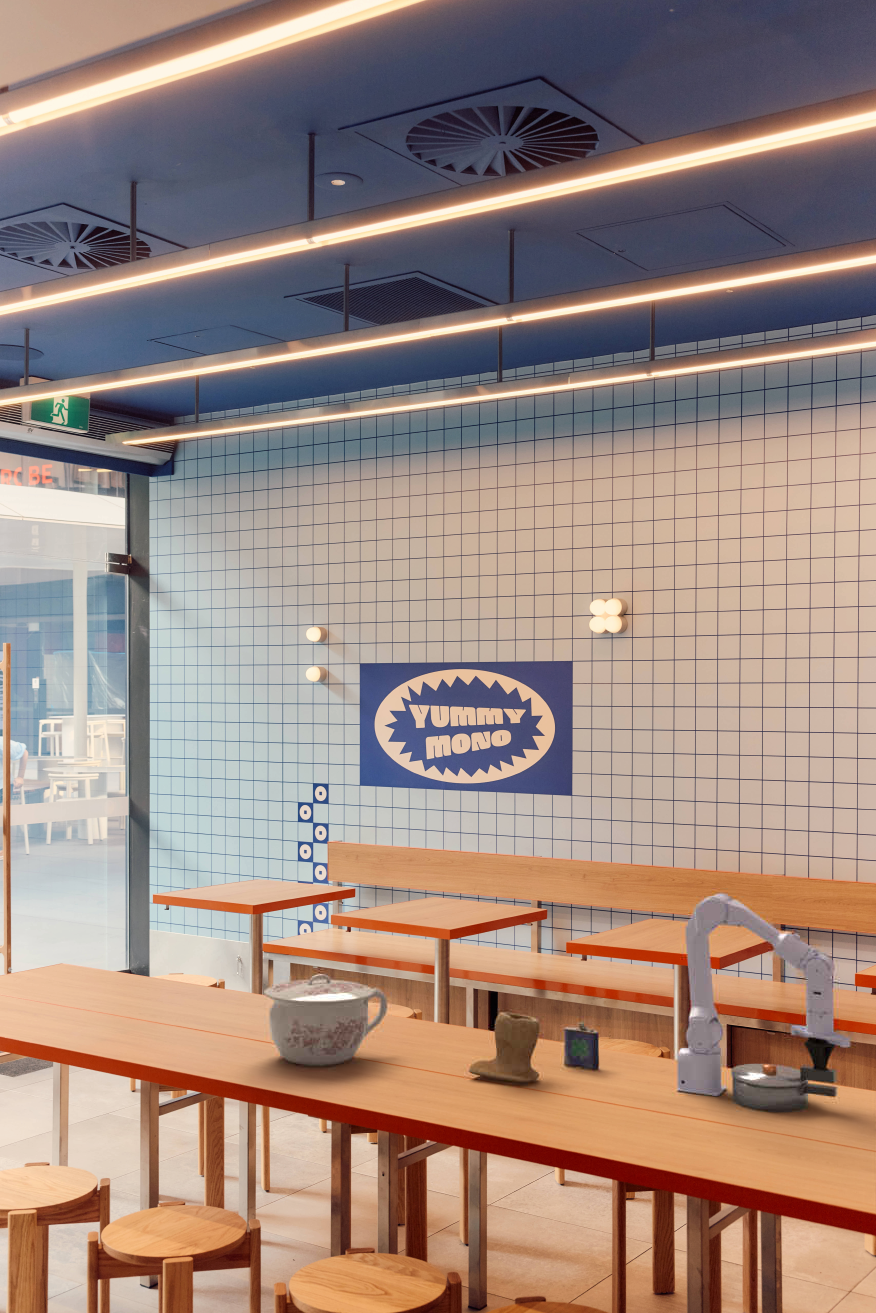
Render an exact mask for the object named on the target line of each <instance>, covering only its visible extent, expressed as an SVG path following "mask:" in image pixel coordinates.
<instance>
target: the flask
mask: <svg viewBox="0 0 876 1313" xmlns="http://www.w3.org/2000/svg"><path fill="white" fill-rule="evenodd" d="M585 1024H586V1022H585V1021H583V1022H580V1023H579V1022H578V1023H577V1025H578V1027H564V1030H563V1032H564V1033H563V1034H564V1040H563V1041H564V1042H563V1043H564V1046H563V1047H564V1048H563V1049H564V1050H563V1051H564V1055H563V1059H564V1060H563V1064H564V1066H566V1067H569V1066H570V1067H572V1068H576V1067H581V1068H580V1069H583V1068H587V1069H586V1070H588V1069H589V1070H590V1069H592V1070H591V1071H595V1070H597V1069H599V1070H600V1056H599V1055H600V1054H599V1053H600V1052H599V1051H600V1050H599V1045H600V1044H599V1041H600V1040H599V1032H598V1031H597V1030H595V1029H593V1028H591V1029H589V1028H588V1027H587V1026H586V1025H585ZM597 1071H598V1070H597Z"/></svg>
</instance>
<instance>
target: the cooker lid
mask: <svg viewBox="0 0 876 1313" xmlns="http://www.w3.org/2000/svg"><path fill="white" fill-rule="evenodd" d="M730 1072H731V1078H732V1077H733V1078H734V1079H736V1080H738V1081H740V1082H744V1083H747V1084H752V1085H757V1086H764V1087H779V1088H786V1087H798V1086H802V1085H805V1084H807V1083H809V1081H813V1082H821V1083H829V1084H835V1082H837V1069H835V1068H834V1069H833V1068H827V1067H826V1068H821V1067H814V1065H806V1064H802V1065H801V1066H800V1068H799V1069H798V1068H795V1067H791V1066H785V1065H779V1064H772V1063H747V1064H746V1063H745V1064H740V1065H736V1066H734V1067H732V1068H731V1071H730Z"/></svg>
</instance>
